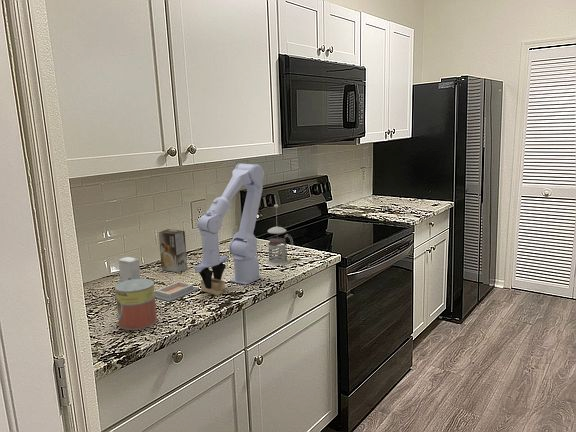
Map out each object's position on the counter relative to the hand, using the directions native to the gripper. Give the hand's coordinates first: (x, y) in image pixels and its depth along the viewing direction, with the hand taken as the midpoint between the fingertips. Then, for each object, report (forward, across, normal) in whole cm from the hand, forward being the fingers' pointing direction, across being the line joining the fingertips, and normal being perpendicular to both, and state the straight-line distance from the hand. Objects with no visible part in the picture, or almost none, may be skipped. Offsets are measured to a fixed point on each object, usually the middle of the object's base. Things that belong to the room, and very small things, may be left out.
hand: (212, 286), depth 167 cm
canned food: (+2, +31, -2) cm, 31 cm away
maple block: (+2, 0, 0) cm, 2 cm away
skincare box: (+2, +15, -26) cm, 30 cm away
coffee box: (+2, -11, -32) cm, 34 cm away
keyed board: (+2, +8, -11) cm, 14 cm away
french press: (+2, -41, 0) cm, 41 cm away
